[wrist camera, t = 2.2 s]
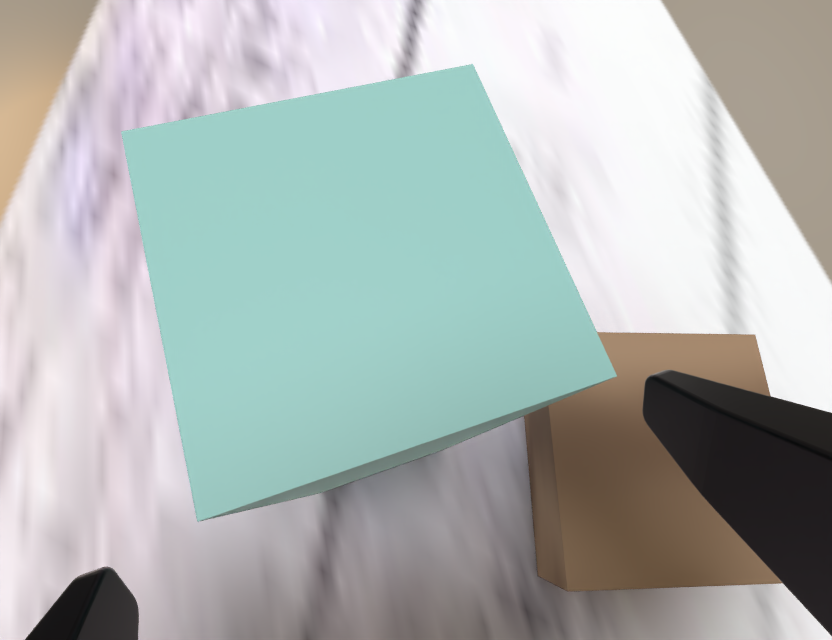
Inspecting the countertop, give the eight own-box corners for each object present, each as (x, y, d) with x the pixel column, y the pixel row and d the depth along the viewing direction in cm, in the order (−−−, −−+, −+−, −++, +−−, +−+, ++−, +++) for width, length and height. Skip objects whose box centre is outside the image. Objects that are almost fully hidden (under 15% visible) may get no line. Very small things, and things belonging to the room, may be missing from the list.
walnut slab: (745, 566, 18) (817, 581, 15) (534, 573, 17) (567, 591, 14) (701, 355, 20) (754, 334, 18) (515, 353, 20) (540, 331, 17)
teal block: (443, 449, 18) (616, 375, 5) (320, 493, 17) (197, 521, 5) (403, 334, 19) (473, 64, 7) (286, 369, 18) (120, 131, 6)
